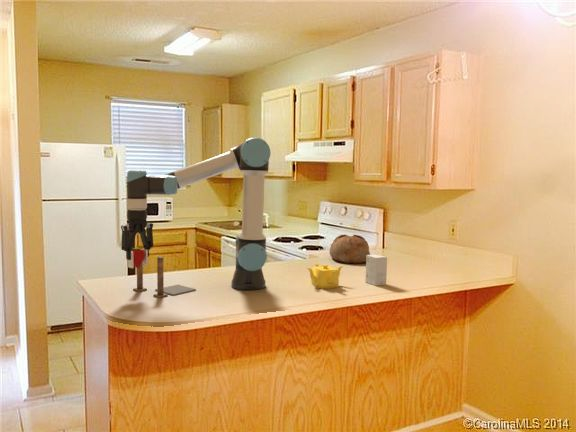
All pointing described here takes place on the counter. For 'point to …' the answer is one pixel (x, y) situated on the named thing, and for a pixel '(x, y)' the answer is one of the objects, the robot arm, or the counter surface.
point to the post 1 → (140, 280)
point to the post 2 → (160, 279)
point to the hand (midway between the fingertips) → (137, 266)
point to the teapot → (325, 276)
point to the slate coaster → (177, 290)
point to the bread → (349, 249)
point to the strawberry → (138, 256)
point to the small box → (376, 269)
